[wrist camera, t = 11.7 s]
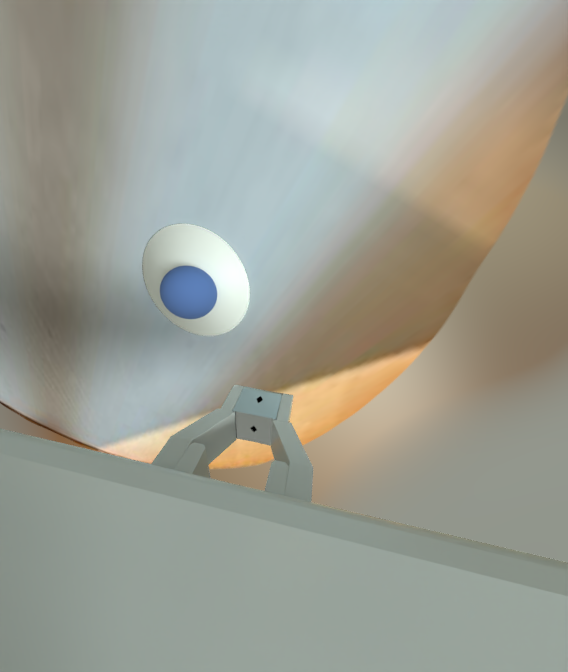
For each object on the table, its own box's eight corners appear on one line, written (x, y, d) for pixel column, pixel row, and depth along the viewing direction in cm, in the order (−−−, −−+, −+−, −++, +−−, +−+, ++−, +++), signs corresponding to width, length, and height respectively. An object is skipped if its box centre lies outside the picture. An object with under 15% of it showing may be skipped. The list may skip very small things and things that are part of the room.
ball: (166, 331, 21) (223, 324, 23) (158, 272, 18) (223, 273, 21) (161, 309, 25) (210, 306, 27) (153, 259, 22) (209, 261, 25)
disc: (157, 327, 29) (156, 328, 29) (130, 218, 23) (129, 218, 23) (250, 342, 28) (249, 342, 28) (249, 229, 21) (249, 229, 21)
